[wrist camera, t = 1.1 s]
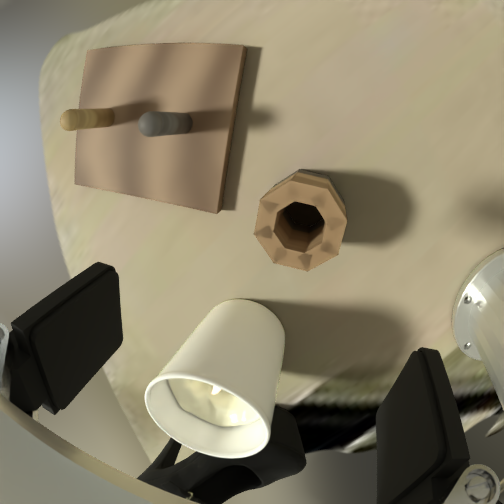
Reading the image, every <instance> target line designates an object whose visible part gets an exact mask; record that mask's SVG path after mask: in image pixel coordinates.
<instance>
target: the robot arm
mask: <svg viewBox="0 0 504 504" xmlns="http://www.w3.org/2000/svg"><path fill="white" fill-rule="evenodd" d="M11 326H12V329H13V330H12V331H11V332H10V333H9V331H8V329H7V327H6V326H4V325H3V324H1V323H0V504H199V503H196V502H193V501H190V500H187V499H185V498H182V497H179V496H176V495H174V494H171V493H169V492H166V491H164V490H161V489H159V488H156V487H154V486H152V485H149V484H147V483H145V482H142V481H140V480H138V479H136V478H133V477H131V476H129V475H127V474H125V473H123V472H121V471H119V470H117V469H115V468H113V467H111V466H109V465H107V464H105V463H103V462H102V461H100V460H98V459H96V458H94V457H92V456H91V455H89V454H87V453H85V452H84V451H82V450H80V449H78V448H77V447H75V446H74V445H72V444H70V443H69V442H67V441H66V440H64V439H62V438H61V437H59V436H58V435H56V434H54V433H53V432H52V431H50V430H49V429H47V428H46V427H44V426H43V425H41V424H40V423H38V408H39V407H40V406H41V405H42V406H43V408H45V409H46V410H48V411H49V412H51V413H52V414H54V415H55V414H56V413H57V412H58V411H59V410H60V409H61V410H63V409H65V408H66V407H67V406H68V405H69V404H70V402H71V401H72V400H73V399H74V398H75V396H77V394H78V393H79V392H80V391H81V390H82V389H83V387H84V386H85V385H86V384H87V383H88V382H89V380H91V378H92V377H93V376H94V375H95V374H96V373H97V372H98V371H99V369H100V368H101V367H102V366H103V365H104V364H105V363H106V362H107V360H108V359H109V358H110V357H111V356H112V355H113V354H114V353H115V352H116V350H117V349H118V348H119V347H120V346H121V344H122V341H123V331H122V320H121V307H120V291H119V276H118V273H117V272H116V271H115V268H114V267H113V266H110V265H107V264H104V263H101V262H97V263H95V264H93V265H92V266H90V267H89V268H87V269H86V270H84V271H83V272H81V273H80V274H78V275H77V276H75V277H74V278H72V279H71V280H69V281H68V282H67V283H65V284H64V285H62V286H61V287H59V288H58V289H56V290H55V291H54V292H52V293H51V294H49V295H48V296H47V297H45V298H44V299H42V300H41V301H40V302H38V303H37V304H35V305H34V306H33V307H31V308H30V309H29V310H27V311H26V312H25V313H23V314H22V315H21V316H19V317H18V318H17V319H15V320H14V321H13V322H11ZM452 330H453V334H454V338H455V340H456V342H457V344H458V346H459V348H460V349H461V351H462V352H463V353H465V354H466V355H467V356H468V357H470V358H473V359H475V360H481V361H483V363H484V365H485V367H486V370H487V372H488V374H489V376H490V378H491V381H492V383H493V385H494V388H495V390H496V392H497V395H498V397H499V400H500V402H501V405H502V407H503V410H504V249H501V250H498V251H496V252H495V253H493V254H492V255H490V256H488V257H487V258H486V259H485V260H483V261H482V262H481V263H480V264H479V265H478V266H477V267H476V268H475V269H474V270H473V271H472V273H471V274H470V275H469V276H468V278H467V279H466V281H465V282H464V284H463V286H462V288H461V290H460V292H459V294H458V296H457V298H456V302H455V305H454V308H453V314H452ZM376 435H377V504H502V503H501V502H500V501H499V500H498V498H499V494H500V483H499V480H498V477H497V476H496V474H495V473H494V472H493V471H492V470H491V469H490V468H488V467H487V466H485V465H480V464H476V465H471V466H469V461H468V460H469V459H470V455H469V451H468V446H467V443H466V439H465V434H464V430H463V426H462V423H461V419H460V415H459V412H458V408H457V405H456V402H455V398H454V395H453V392H452V388H451V385H450V382H449V379H448V376H447V373H446V370H445V367H444V364H443V361H442V359H441V356H440V353H439V351H437V350H434V349H428V348H423V347H421V348H419V349H418V351H413V352H412V354H411V355H410V357H409V359H408V361H407V363H406V364H405V366H404V368H403V370H402V371H401V373H400V375H399V377H398V378H397V380H396V382H395V383H394V385H393V387H392V388H391V390H390V391H389V393H388V395H387V396H386V398H385V399H384V401H383V403H382V404H381V406H380V407H379V409H378V411H377V414H376Z"/></svg>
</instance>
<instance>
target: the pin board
mask: <svg viewBox="0 0 504 504" xmlns="http://www.w3.org/2000/svg"><path fill="white" fill-rule="evenodd" d="M246 53H247V48H246V47H245V46H244V45H231V44H210V43H163V44H142V45H129V46H118V47H109V48H100V49H93V50H87V54H86V60H85V66H84V72H83V79H82V86H81V94H80V102H79V109H69V110H67V111H65V112H64V113H63V114H62V116H61V118H60V124H61V127H62V128H63V129H64V130H67V131H73V130H77V135H76V153H75V184H76V185H81V186H86V187H91V188H96V189H102V190H107V191H112V192H117V193H122V194H126V195H131V196H136V197H141V198H146V199H151V200H155V201H160V202H165V203H169V204H174V205H179V206H183V207H188V208H193V209H197V210H202V211H206V212H211V213H215V214H217V213H218V212H220V211H221V209H222V202H223V195H224V188H225V181H226V174H227V167H228V161H229V154H230V148H231V141H232V135H233V129H234V123H235V116H236V110H237V104H238V98H239V93H240V87H241V81H242V75H243V70H244V64H245V59H246Z"/></svg>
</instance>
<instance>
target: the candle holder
mask: <svg viewBox="0 0 504 504" xmlns="http://www.w3.org/2000/svg"><path fill="white" fill-rule="evenodd" d="M284 348H285V333H284V329H283V326H282V324H281V322H280V321H279V319H278V318H277V317H276V316H275V314H274V313H272V312H271V311H270V310H269V309H267V308H266V307H264V306H263V305H261V304H259V303H256V302H253V301H250V300H244V299H233V300H227V301H224V302H222V303H220V304H218V305H217V306H215V307H214V308H213V309H212V310H211V311H210V312H209V313H208V314H207V315H206V317H205V318H204V319H203V320H202V321H201V323H200V324H199V325H198V326H197V327H196V329H195V330H194V331H193V332H192V334H191V335H190V336H189V337H188V339H187V340H186V341H185V342H184V343H183V345H182V346H181V347H180V348H179V350H178V351H177V352H176V353H175V355H174V356H173V357H172V358H171V359H170V361H169V362H168V363H167V364H166V366H165V367H164V368H163V369H162V370H161V372H160V373H159V374H158V375H157V377H156V378H155V379H153V380H152V381H151V382H150V384H149V385H148V387H147V389H146V392H145V404H146V407H147V410H148V412H149V414H150V416H151V417H152V419H153V420H154V421H155V423H156V424H157V425H158V426H159V427H160V428H161V429H162V430H163V431H164V432H165V433H166V434H168V435H169V436H170V437H171V438H173V439H174V440H176V441H177V442H179V443H181V444H182V445H184V446H186V447H188V448H190V449H193V450H195V451H197V452H200V453H203V454H207V455H210V456H215V457H221V458H243V457H248V456H251V455H254V454H256V453H258V452H260V451H261V450H262V449H263V448H264V447H265V446H266V445H267V443H268V441H269V439H270V435H271V424H272V418H273V413H274V408H275V402H276V397H277V391H278V385H279V380H280V374H281V368H282V362H283V355H284Z"/></svg>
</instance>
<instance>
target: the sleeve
mask: <svg viewBox="0 0 504 504" xmlns="http://www.w3.org/2000/svg"><path fill="white" fill-rule="evenodd" d="M294 201H296V202H301V203H305V204H309V205H313V206H316V208H317V209H318V211H319V212H320V214H321V215H322V217H323V219H322V220H321V221H319V222H317V223H315V224H314V225H312V226H307V225H303V224H299V223H295V222H294V221H293V219H292V218H291V216H290V215H289V213H288V212H287V210H286V207H287V205H289V204H291V203H292V202H294ZM347 222H348V221H347V215H346V210H345V204H344V200H343V199H342V197H341V196H340V194H339V192H338V191H337V189H336V187H335V186H334V184H333V183H332V181H331V179H330V178H329V176H326V175H322V174H318V173H313V172H309V171H305V170H300V169H299V170H298V171H296V172H295V173H293V174H292V175H290V176H288V177H287V178H285V179H284V180H282V181H281V182H279V183H278V184H276V185H274V186H273V187H272V188H271V189H270V190H269V191H268V192H267V193H266V194H265V195H264V196H263V197H262V198H261V199H260V203H259V209H258V214H257V220H256V226H255V231H254V235H255V236H256V238H257V239H258V241H259V242H260V244H261V245H262V247H263V248H264V249H265V251H266V252H267V254H268V255H269V257H270V258H271V260H272V261H273V263H276V264H280V265H284V266H288V267H292V268H296V269H300V270H304V271H309V270H311V269H313V268H315V267H317V266H318V265H320V264H322V263H324V262H326V261H328V260H329V259H331V258H333V257H335V256H337V255H338V253H339V249H340V246H341V242H342V239H343V235H344V231H345V228H346V224H347Z"/></svg>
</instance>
